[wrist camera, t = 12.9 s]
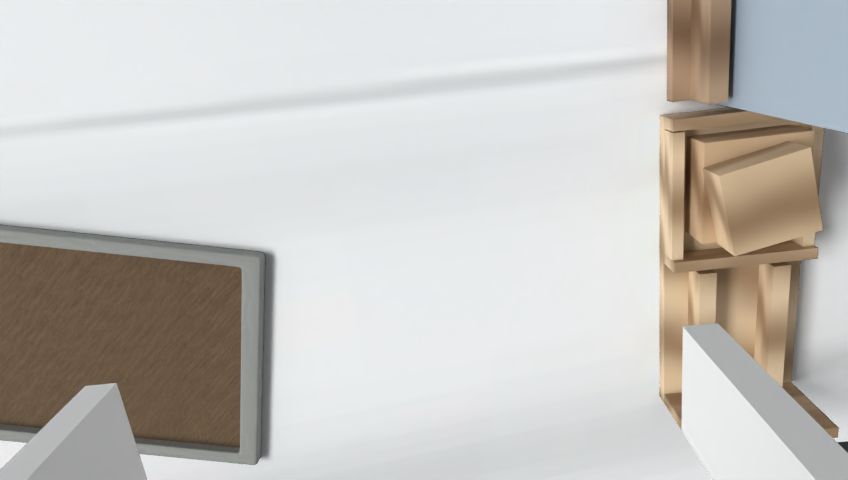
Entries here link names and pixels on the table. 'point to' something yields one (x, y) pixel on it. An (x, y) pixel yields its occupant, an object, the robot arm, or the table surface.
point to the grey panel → (790, 60)
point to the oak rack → (726, 269)
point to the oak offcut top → (763, 197)
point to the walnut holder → (698, 50)
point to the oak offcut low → (720, 149)
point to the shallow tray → (134, 338)
